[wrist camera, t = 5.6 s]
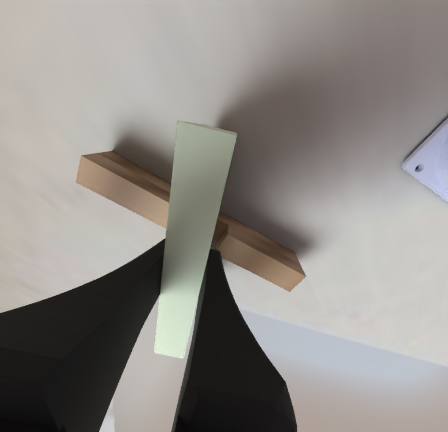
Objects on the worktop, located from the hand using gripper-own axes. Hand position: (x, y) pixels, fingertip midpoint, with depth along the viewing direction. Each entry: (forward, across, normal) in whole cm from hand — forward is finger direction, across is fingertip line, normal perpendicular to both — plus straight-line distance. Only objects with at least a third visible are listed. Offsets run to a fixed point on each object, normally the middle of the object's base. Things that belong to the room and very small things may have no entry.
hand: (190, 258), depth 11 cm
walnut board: (+6, 0, 0) cm, 6 cm away
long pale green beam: (+5, 0, 0) cm, 5 cm away
